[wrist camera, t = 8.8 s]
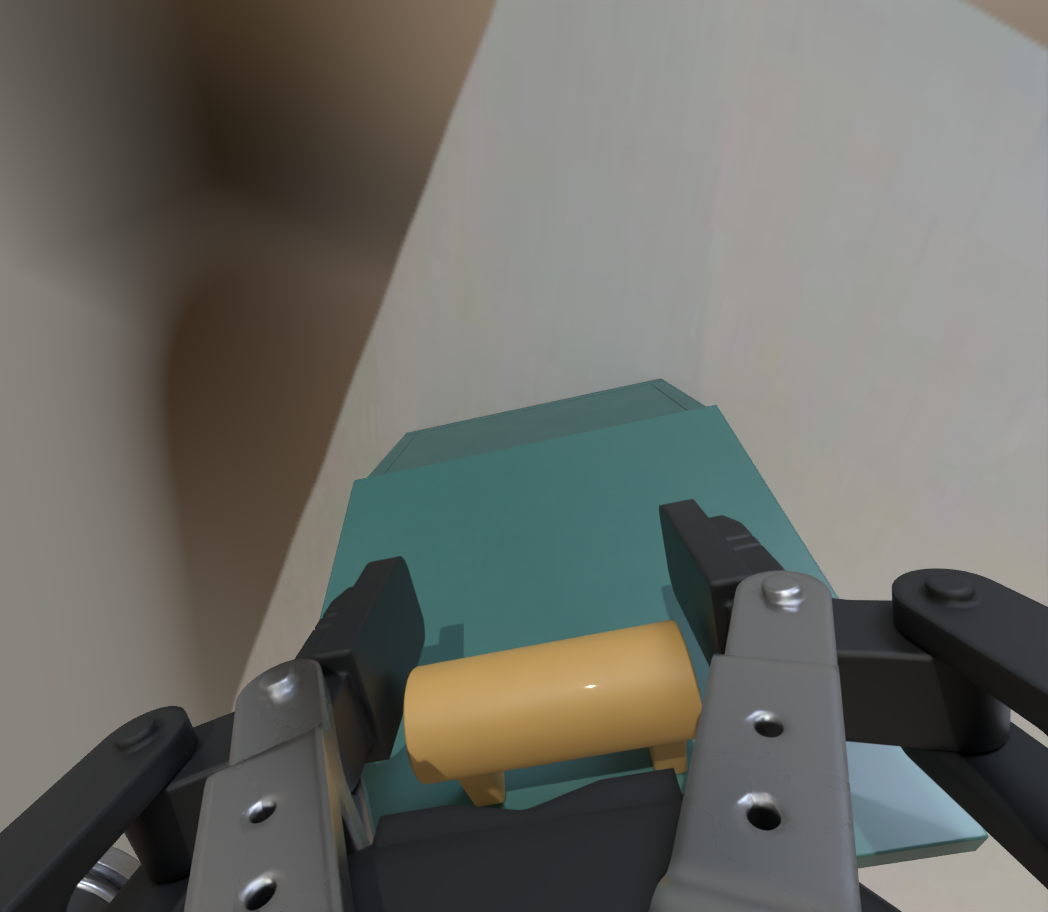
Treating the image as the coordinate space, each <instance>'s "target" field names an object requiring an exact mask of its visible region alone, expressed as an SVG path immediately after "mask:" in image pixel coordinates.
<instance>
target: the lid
mask: <svg viewBox="0 0 1048 912" xmlns="http://www.w3.org/2000/svg"><path fill="white" fill-rule="evenodd" d="M688 499H694V500H695V501H696V503H697V504H698V505H699V506H700V508H701V509H702V510H703V511H704V513H705V514H706V515H707V516H708V518H710V517H715V516H720V515H724V516H726V517H729V518H731V519H734V520H736V521H739V522H741V523H742V524H743V525H744V526H745V527H746V528H747V529H748V530H749V531H750V532H751V534H752V536H754V537H755V538H756V539H757V540H758V541H759V542H760V543H761V546H764V548H765V549H766V550H767V551H768V552H769V553H770V554H771V555H772V556H773V557H774V558H775V559H776V560H777V561H778V563H779V564H780V565H781V566H782V567H783V568H784V569H785V570H786V571H794V572H800V573H804V574H807V575H810V576H813V577H815V578H817V579H819V580H820V581H822V582H823V583H824V584H825V585H827V586H828V588H829V590H830V592H831V596H832V598H836V599H839V598H838V597H837V595H836V593H835V592H834V590H833V589H832V587H831V586H830V584H829V582H828V581H827V579H826V578H825V576H824V574H823V573H822V571H821V570H820V568H819V567H818V565H817V563H816V562H815V560H814V559H813V557H812V555H811V554H810V552H809V551H808V549H807V548H806V546H805V544H804V543H803V541H802V540H801V538H800V536H799V535H798V533H797V532H796V530H795V529H794V527H793V525H792V524H791V522H790V521H789V519H788V517H787V516H786V514H785V513H784V511H783V510H782V508H781V506H780V505H779V503H778V502H777V500H776V498H775V497H774V495H773V494H772V492H771V491H770V489H769V487H768V486H767V484H766V483H765V481H764V479H763V478H762V476H761V475H760V473H759V472H758V470H757V468H756V467H755V465H754V464H753V462H752V460H751V459H750V457H749V456H748V454H747V453H746V451H745V449H744V448H743V446H742V445H741V443H740V441H739V440H738V438H737V437H736V435H735V433H734V432H733V430H732V429H731V427H730V426H729V424H728V422H727V421H726V419H725V418H724V416H723V414H722V413H721V411H720V410H719V408H718V407H717V405H713V406H708V407H703V408H698V409H693V410H689V411H684V412H679V413H674V414H670V415H665V416H660V417H655V418H651V419H646V420H641V421H636V422H631V423H627V424H622V425H617V426H612V427H608V428H603V429H598V430H593V431H588V432H584V433H579V434H574V435H569V436H565V437H560V438H555V439H550V440H545V441H541V442H536V443H531V444H526V445H522V446H517V447H512V448H507V449H503V450H498V451H493V452H488V453H483V454H479V455H474V456H469V457H464V458H460V459H455V460H450V461H445V462H440V463H436V464H431V465H426V466H421V467H417V468H412V469H407V470H402V471H397V472H393V473H388V474H383V475H378V476H374V477H369V478H364V479H359V480H355V481H354V484H353V488H352V492H351V496H350V500H349V504H348V508H347V512H346V516H345V520H344V524H343V528H342V532H341V536H340V540H339V544H338V548H337V552H336V556H335V560H334V564H333V568H332V572H331V576H330V580H329V584H328V588H327V592H326V596H325V600H324V604H323V608H322V612H321V616H320V619H321V618H323V614H324V613H325V611H326V610H327V608H328V607H329V605H330V603H331V602H332V601H333V600H334V599H335V598H336V597H338V596H339V595H340V594H341V593H342V592H344V591H345V590H346V589H347V588H348V587H353V586H354V585H355V583H356V581H357V580H358V578H359V576H360V575H361V573H362V571H363V570H364V568H365V566H366V565H367V563H369V562H372V561H377V560H382V559H387V558H392V557H397V556H402V557H403V558H404V560H405V561H406V564H407V566H408V569H409V572H410V576H411V579H412V582H413V586H414V589H415V592H416V595H417V599H418V602H419V605H420V608H421V612H422V615H423V619H424V625H425V642H424V646H423V650H422V653H421V656H420V660H419V663H418V666H417V667H416V668H414V669H413V670H412V671H411V673H410V675H409V677H408V680H407V684H406V689H405V696H404V710H403V716H402V720H401V723H400V726H399V730H398V733H397V736H396V740H395V743H394V746H393V750H392V753H391V756H390V759H389V760H384V761H378V762H372V763H367V764H365V766H364V768H363V771H362V774H361V776H362V778H363V781H364V784H365V786H366V789H367V793H368V798H369V803H370V808H371V813H372V818H373V822H374V827H375V832H376V829H377V825H378V822H379V818H380V816H383V815H389V814H395V813H401V812H407V811H413V810H419V809H426V808H432V807H438V806H444V805H450V804H451V805H463V806H475V807H488V808H500V809H512V810H524V809H528V808H531V807H534V806H536V805H539V804H541V803H544V802H546V801H549V800H551V799H554V798H556V797H559V796H561V795H563V794H566V793H568V792H571V791H573V790H576V789H578V788H581V787H583V786H586V785H588V784H591V783H593V782H595V781H598V780H601V779H608V778H614V777H620V776H626V775H632V774H638V773H644V772H650V771H656V770H662V769H668V768H674V770H675V773H676V777H677V780H678V783H679V787H680V790H681V793H683V794H684V792H685V787H686V782H687V777H688V772H689V767H690V763H691V758H692V753H693V748H694V743H695V738H696V733H697V728H698V723H699V718H700V714H701V709H702V704H703V699H704V694H705V689H706V684H707V679H708V674H709V669H710V667H709V665H708V663H707V661H706V659H705V657H704V655H703V652H702V650H701V648H700V646H699V644H698V642H697V640H696V638H695V636H694V634H693V632H692V630H691V628H690V626H689V624H688V621H687V619H686V617H685V615H684V613H683V611H682V609H681V607H680V605H679V603H678V601H677V599H676V597H675V594H674V591H673V588H672V584H671V581H670V576H669V572H668V566H667V560H666V554H665V548H664V541H663V535H662V529H661V523H660V516H659V505H663V504H668V503H673V502H678V501H683V500H688ZM319 621H320V620H319ZM846 750H847V761H848V771H849V782H850V793H851V804H852V814H853V825H854V836H855V846H856V857H857V868H864V867H870V866H877V865H884V864H890V863H897V862H903V861H910V860H917V859H923V858H930V857H937V856H943V855H950V854H957V853H963V852H970V851H976V850H977V849H978V848H979V847H980V846H981V845H982V844H983V843H984V842H985V841H986V839H987V838H988V834H987V833H986V831H985V829H984V828H983V827H982V826H981V825H979V824H978V823H977V822H976V821H975V820H974V819H973V818H972V817H971V816H970V815H969V814H968V813H967V812H966V811H965V810H964V809H963V808H962V807H960V806H959V805H958V804H957V803H956V802H955V801H954V800H953V799H952V798H951V797H950V796H949V795H948V794H947V793H946V792H945V791H944V790H943V789H941V788H940V787H939V786H938V785H937V784H936V783H935V782H934V781H933V780H932V779H931V778H930V777H929V776H928V775H927V774H926V773H925V772H924V771H922V770H921V769H920V768H919V767H918V766H917V765H916V764H915V763H914V762H913V761H912V760H911V759H910V758H909V757H908V756H907V755H906V754H905V753H904V751H903V750H902V748H901V746H890V745H879V744H869V743H858V742H848V741H846Z"/></svg>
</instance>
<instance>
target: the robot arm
mask: <svg viewBox="0 0 1048 912" xmlns="http://www.w3.org/2000/svg"><path fill="white" fill-rule="evenodd" d="M659 516H660V523H661V529H662V535H663V541H664V548H665V554H666V560H667V566H668V572H669V576H670V581H671V584H672V588H673V591H674V594H675V597H676V599H677V601H678V603H679V605H680V607H681V609H682V611H683V613H684V615H685V617H686V619H687V621H688V624H689V626H690V628H691V630H692V632H693V634H694V636H695V638H696V640H697V642H698V644H699V646H700V648H701V650H702V652H703V655H704V657H705V659H706V661H707V663H708V665H709V667H710V669H709V674H708V679H707V684H706V689H705V694H704V699H703V704H702V709H701V714H700V718H699V723H698V728H697V733H696V738H695V743H694V748H693V753H692V758H691V763H690V767H689V772H688V777H687V782H686V787H685V792H684V794H683V793H681V790H680V787H679V783H678V780H677V777H676V773H675V770H674V768H668V769H662V770H656V771H650V772H644V773H638V774H632V775H626V776H620V777H614V778H608V779H601V780H598V781H595V782H593V783H591V784H588V785H586V786H583V787H581V788H578V789H576V790H573V791H571V792H568V793H566V794H563V795H561V796H559V797H556V798H554V799H551V800H549V801H546V802H544V803H541V804H539V805H536V806H534V807H531V808H528V809H524V810H512V809H500V808H488V807H475V806H463V805H451V804H450V805H444V806H438V807H432V808H426V809H419V810H413V811H407V812H401V813H395V814H389V815H383V816H380V818H379V822H378V825H377V829H376V832H375V827H374V822H373V818H372V813H371V808H370V803H369V798H368V793H367V789H366V786H365V784H364V781H363V778H362V776H361V774H362V771H363V768H364V766H365V764H367V763H372V762H378V761H384V760H389V759H390V756H391V753H392V750H393V746H394V743H395V740H396V736H397V733H398V730H399V726H400V723H401V720H402V716H403V710H404V696H405V689H406V684H407V680H408V677H409V675H410V673H411V671H412V670H413V669H414V668H416V667H417V666H418V663H419V660H420V656H421V653H422V650H423V646H424V642H425V625H424V619H423V615H422V612H421V608H420V605H419V602H418V599H417V595H416V592H415V589H414V586H413V582H412V579H411V576H410V572H409V569H408V566H407V564H406V561H405V560H404V558H403V557H402V556H397V557H392V558H387V559H382V560H377V561H372V562H369V563H367V565H366V566H365V568H364V570H363V571H362V573H361V575H360V576H359V578H358V580H357V581H356V583H355V585H354V586H353V587H348V588H347V589H346V590H345V591H344V592H342V593H341V594H340V595H339V596H338V597H336V598H335V599H334V600H333V601H332V602H331V603H330V605H329V607H328V608H327V610H326V611H325V613H324V614H323V618H321V619H320V621H319V622H318V624H317V625H316V627H315V630H313V631H312V633H311V635H310V636H309V638H308V639H307V641H306V642H305V644H304V645H303V647H302V649H301V650H300V652H299V653H298V655H297V656H296V658H295V659H294V660H291V661H288V662H285V663H282V664H279V665H277V666H275V667H273V668H271V669H269V670H267V671H265V672H264V673H262V674H261V675H259V676H258V677H256V678H255V679H254V680H252V681H251V682H250V683H249V684H248V685H247V686H246V687H245V688H244V689H243V690H242V692H241V693H240V695H239V696H238V698H237V701H236V707H235V712H233V713H230V714H227V715H225V716H222V717H220V718H217V719H214V720H212V721H209V722H207V723H204V724H201V725H199V726H196V727H194V728H193V727H192V724H191V722H190V720H189V718H188V716H187V713H186V712H185V710H184V709H183V708H181V707H178V706H169V707H163V708H159V709H156V710H153V711H150V712H147V713H145V714H143V715H141V716H139V717H137V718H135V719H133V720H131V721H129V722H128V723H126V724H124V725H123V726H121V727H120V728H118V729H117V730H115V731H114V732H113V733H111V734H110V735H109V736H108V737H106V738H105V739H104V740H103V741H102V742H101V743H100V744H98V746H96V747H95V748H94V749H93V750H92V751H91V752H90V753H88V754H87V755H86V756H85V757H84V758H83V759H82V760H81V761H80V762H79V763H77V764H76V765H75V766H74V767H73V768H72V769H71V770H70V771H69V772H67V773H66V774H65V775H64V776H63V777H62V778H61V779H60V780H59V781H57V782H56V783H55V784H54V785H53V786H52V787H51V788H50V789H49V790H48V791H46V792H45V793H44V794H43V795H42V796H41V797H40V798H39V799H38V800H36V801H35V802H34V803H33V804H32V805H31V806H30V807H29V808H28V809H27V810H25V811H24V812H23V813H22V814H21V815H20V816H19V817H18V818H16V819H15V820H14V821H13V822H12V823H11V824H10V825H9V826H8V827H7V828H5V829H4V830H3V831H2V832H1V833H0V912H901V911H900V910H898V909H897V908H896V907H894V906H893V905H891V904H890V903H888V902H887V901H886V900H884V899H883V898H881V897H880V896H878V895H877V894H875V893H874V892H873V891H871V890H870V889H868V888H867V887H865V886H864V885H863V884H861V883H860V882H859V879H858V868H857V857H856V846H855V836H854V825H853V814H852V804H851V793H850V782H849V771H848V761H847V750H846V741H848V742H858V743H869V744H879V745H890V746H901V748H902V750H903V751H904V753H905V754H906V755H907V756H908V757H909V758H910V759H911V760H912V761H913V762H914V763H915V764H916V765H917V766H918V767H919V768H920V769H921V770H922V771H924V772H925V773H926V774H927V775H928V776H929V777H930V778H931V779H932V780H933V781H934V782H935V783H936V784H937V785H938V786H939V787H940V788H941V789H943V790H944V791H945V792H946V793H947V794H948V795H949V796H950V797H951V798H952V799H953V800H954V801H955V802H956V803H957V804H958V805H959V806H960V807H962V808H963V809H964V810H965V811H966V812H967V813H968V814H969V815H970V816H971V817H972V818H973V819H974V820H975V821H976V822H977V823H978V824H979V825H981V826H982V827H983V828H984V829H985V830H986V831H987V832H988V833H989V834H990V835H991V836H992V837H993V838H994V839H995V840H996V841H997V842H998V843H1000V844H1001V845H1002V846H1003V847H1004V848H1005V849H1006V850H1007V851H1008V852H1009V853H1010V854H1011V855H1012V856H1013V857H1014V858H1015V859H1016V860H1017V861H1019V862H1020V863H1021V864H1022V865H1023V866H1024V867H1025V868H1026V869H1027V870H1028V871H1029V872H1030V873H1031V874H1032V875H1033V876H1034V877H1035V878H1036V879H1038V880H1039V881H1040V882H1041V883H1042V884H1043V885H1044V886H1045V887H1046V888H1047V889H1048V748H1047V747H1045V746H1044V745H1043V744H1041V743H1040V742H1038V741H1037V740H1036V739H1034V738H1033V737H1031V736H1030V735H1029V734H1027V733H1026V732H1024V731H1023V730H1022V729H1020V728H1019V727H1017V726H1016V725H1015V724H1013V723H1012V722H1010V710H1011V709H1012V710H1013V711H1015V712H1016V713H1018V714H1019V715H1020V716H1022V717H1023V718H1025V719H1026V720H1028V721H1029V722H1031V723H1032V724H1033V725H1035V726H1036V727H1038V728H1039V729H1040V730H1042V731H1043V732H1044V733H1045V734H1046V735H1047V736H1048V607H1047V606H1045V605H1043V604H1040V603H1038V602H1036V601H1034V600H1032V599H1030V598H1028V597H1026V596H1024V595H1022V594H1020V593H1018V592H1016V591H1013V590H1011V589H1009V588H1007V587H1005V586H1003V585H1001V584H999V583H997V582H995V581H993V580H990V579H988V578H986V577H983V576H980V575H977V574H973V573H969V572H965V571H959V570H952V569H922V570H916V571H911V572H908V573H905V574H903V575H901V576H899V577H898V578H897V579H896V580H895V581H894V583H893V584H892V601H878V600H844V599H836V598H832V596H831V592H830V590H829V588H828V586H827V585H825V584H824V583H823V582H822V581H820V580H819V579H817V578H815V577H813V576H810V575H807V574H804V573H800V572H794V571H786V570H785V569H784V568H783V567H782V566H781V565H780V564H779V563H778V561H777V560H776V559H775V558H774V557H773V556H772V555H771V554H770V553H769V552H768V551H767V550H766V549H765V548H764V546H761V543H760V542H759V541H758V540H757V539H756V538H755V537H754V536H752V534H751V532H750V531H749V530H748V529H747V528H746V527H745V526H744V525H743V524H742V523H741V522H739V521H736V520H734V519H731V518H729V517H726V516H724V515H720V516H715V517H710V518H708V516H707V515H706V514H705V513H704V511H703V510H702V509H701V508H700V506H699V505H698V504H697V503H696V501H695V500H694V499H688V500H683V501H678V502H673V503H668V504H663V505H659ZM123 833H125V835H126V837H127V838H128V840H129V842H130V844H131V846H132V847H133V849H134V851H135V853H136V855H137V857H138V859H139V861H140V862H141V865H140V866H139V867H138V869H137V870H136V871H135V872H134V874H133V875H132V876H131V877H130V878H129V880H128V881H127V882H126V883H125V885H124V886H123V887H122V888H121V890H120V889H119V888H117V887H116V886H115V885H113V884H112V883H110V882H108V881H106V880H104V879H102V878H100V877H98V876H95V875H92V874H89V873H88V872H89V871H90V870H91V869H92V868H93V867H94V866H95V864H96V863H97V862H98V861H99V860H100V859H101V858H102V856H103V855H104V854H105V853H106V852H107V851H108V850H109V849H110V847H111V846H112V845H113V844H114V843H115V842H116V841H117V840H118V838H119V837H120V836H121V835H122V834H123Z"/></svg>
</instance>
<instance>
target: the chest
mask: <svg viewBox="0 0 1048 912" xmlns="http://www.w3.org/2000/svg"><path fill="white" fill-rule="evenodd" d="M703 407H706V406H704V405H703V404H701V403H700V402H698V401H696V400H695V399H693V398H692V397H690V396H688V395H687V394H685V393H684V392H682V391H680V390H679V389H677V388H676V387H674V386H672V385H671V384H669V383H668V382H666V381H664V380H663V379H657V380H652V381H647V382H643V383H638V384H633V385H629V386H624V387H619V388H615V389H610V390H605V391H601V392H596V393H591V394H587V395H582V396H577V397H573V398H568V399H563V400H559V401H554V402H549V403H545V404H540V405H535V406H531V407H526V408H521V409H517V410H512V411H507V412H503V413H498V414H493V415H489V416H484V417H479V418H474V419H470V420H465V421H460V422H456V423H451V424H446V425H442V426H437V427H432V428H428V429H423V430H418V431H414V432H409V433H406V434H405V435H404V437H403V438H402V439H401V440H400V441H399V442H398V443H397V444H396V446H395V447H394V448H393V449H392V450H391V451H390V452H389V453H388V455H387V456H386V457H385V458H384V459H383V460H382V461H381V462H380V464H379V465H378V466H377V467H376V468H375V469H374V470H373V472H372V473H371V474H370V475H369V476H368V477H367V478H369V477H374V476H378V475H383V474H388V473H393V472H397V471H402V470H407V469H412V468H417V467H421V466H426V465H431V464H436V463H440V462H445V461H450V460H455V459H460V458H464V457H469V456H474V455H479V454H483V453H488V452H493V451H498V450H503V449H507V448H512V447H517V446H522V445H526V444H531V443H536V442H541V441H545V440H550V439H555V438H560V437H565V436H569V435H574V434H579V433H584V432H588V431H593V430H598V429H603V428H608V427H612V426H617V425H622V424H627V423H631V422H636V421H641V420H646V419H651V418H655V417H660V416H665V415H670V414H674V413H679V412H684V411H689V410H693V409H698V408H703Z"/></svg>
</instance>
